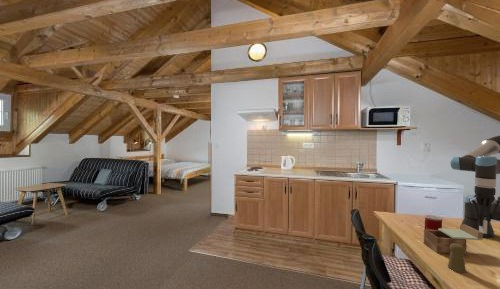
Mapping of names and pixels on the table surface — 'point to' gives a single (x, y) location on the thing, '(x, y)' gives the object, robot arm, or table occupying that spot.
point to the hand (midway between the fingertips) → (482, 232)
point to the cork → (457, 258)
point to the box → (441, 241)
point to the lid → (463, 233)
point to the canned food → (432, 222)
